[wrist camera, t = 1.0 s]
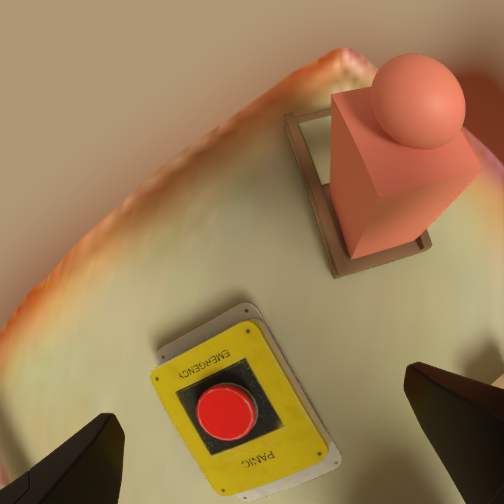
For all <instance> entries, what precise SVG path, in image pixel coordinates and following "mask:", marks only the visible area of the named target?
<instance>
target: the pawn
mask: <svg viewBox="0 0 504 504" xmlns="http://www.w3.org/2000/svg"><path fill="white" fill-rule="evenodd" d="M464 117H465V100H464V95H463V92H462V89H461V87H460V85H459V83H458V81H457V80H456V78H455V77H454V75H453V74H452V73H451V72H450V71H449V70H448V69H447V68H446V67H445V66H444V65H442V64H441V63H439V62H438V61H436V60H434V59H432V58H430V57H427V56H424V55H419V54H405V55H400V56H397V57H395V58H393V59H391V60H389V61H388V62H386V63H385V64H384V65H383V66H382V67H381V68H380V69H379V71H378V72H377V73H376V75H375V78H374V80H373V83H372V87H367V88H362V89H356V90H351V91H346V92H341V93H336V94H332V95H331V160H330V185H329V197H330V199H331V202H332V205H333V208H334V211H335V214H336V217H337V220H338V223H339V226H340V229H341V232H342V235H343V238H344V241H345V245H346V248H347V251H348V254H349V257H350V260H352V259H356V258H359V257H363V256H366V255H369V254H373V253H376V252H379V251H383V250H386V249H389V248H392V247H396V246H399V245H402V244H405V243H409V242H412V241H414V240H415V239H416V238H418V237H419V236H420V235H421V234H422V233H423V232H424V231H425V230H426V229H427V228H428V227H429V226H430V225H431V224H432V223H433V222H434V221H435V220H436V219H437V218H438V217H439V216H440V215H441V214H442V213H443V212H444V211H445V210H446V209H447V208H448V207H449V205H450V204H451V203H452V202H453V201H454V200H455V199H456V198H457V197H458V196H459V195H460V194H461V193H462V192H463V191H464V190H465V188H466V187H467V186H468V185H469V184H470V183H471V182H472V181H473V180H474V179H475V177H476V176H477V175H478V174H479V173H480V172H481V171H482V168H481V166H480V164H479V162H478V160H477V158H476V156H475V154H474V153H473V151H472V149H471V147H470V145H469V143H468V141H467V140H466V138H465V136H464V134H463V132H462V131H461V126H462V124H463V121H464Z"/></svg>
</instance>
